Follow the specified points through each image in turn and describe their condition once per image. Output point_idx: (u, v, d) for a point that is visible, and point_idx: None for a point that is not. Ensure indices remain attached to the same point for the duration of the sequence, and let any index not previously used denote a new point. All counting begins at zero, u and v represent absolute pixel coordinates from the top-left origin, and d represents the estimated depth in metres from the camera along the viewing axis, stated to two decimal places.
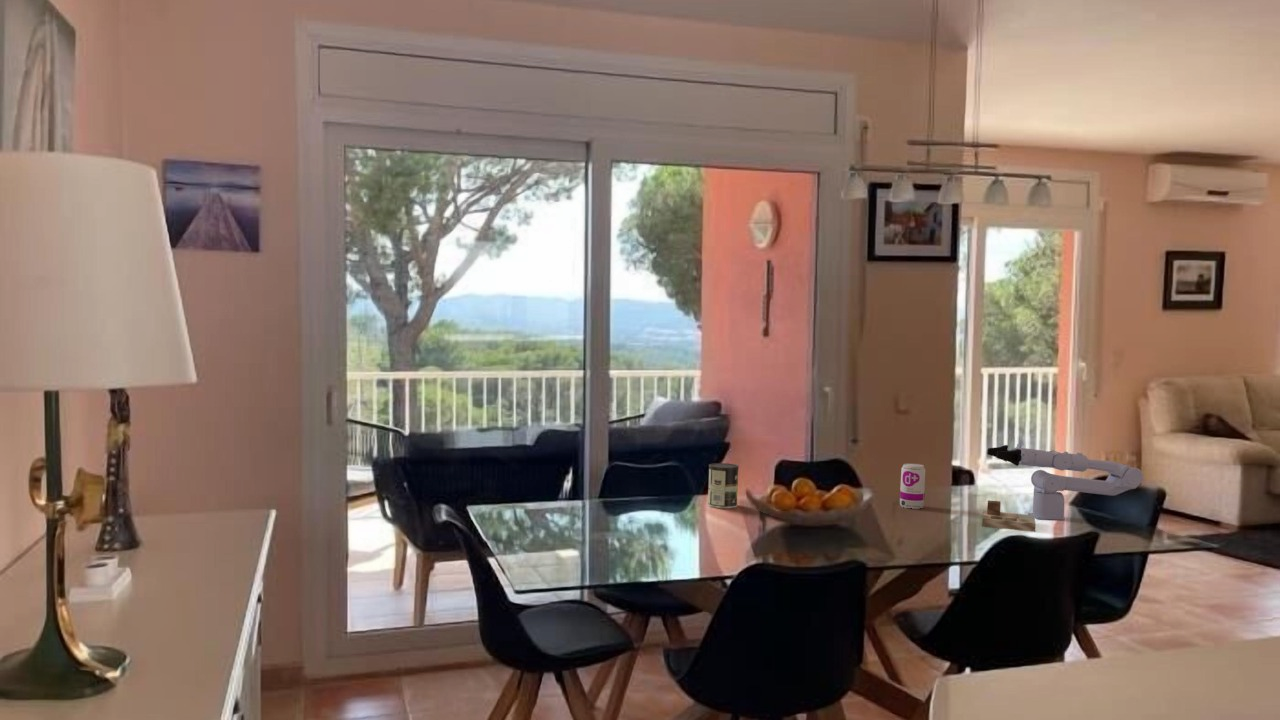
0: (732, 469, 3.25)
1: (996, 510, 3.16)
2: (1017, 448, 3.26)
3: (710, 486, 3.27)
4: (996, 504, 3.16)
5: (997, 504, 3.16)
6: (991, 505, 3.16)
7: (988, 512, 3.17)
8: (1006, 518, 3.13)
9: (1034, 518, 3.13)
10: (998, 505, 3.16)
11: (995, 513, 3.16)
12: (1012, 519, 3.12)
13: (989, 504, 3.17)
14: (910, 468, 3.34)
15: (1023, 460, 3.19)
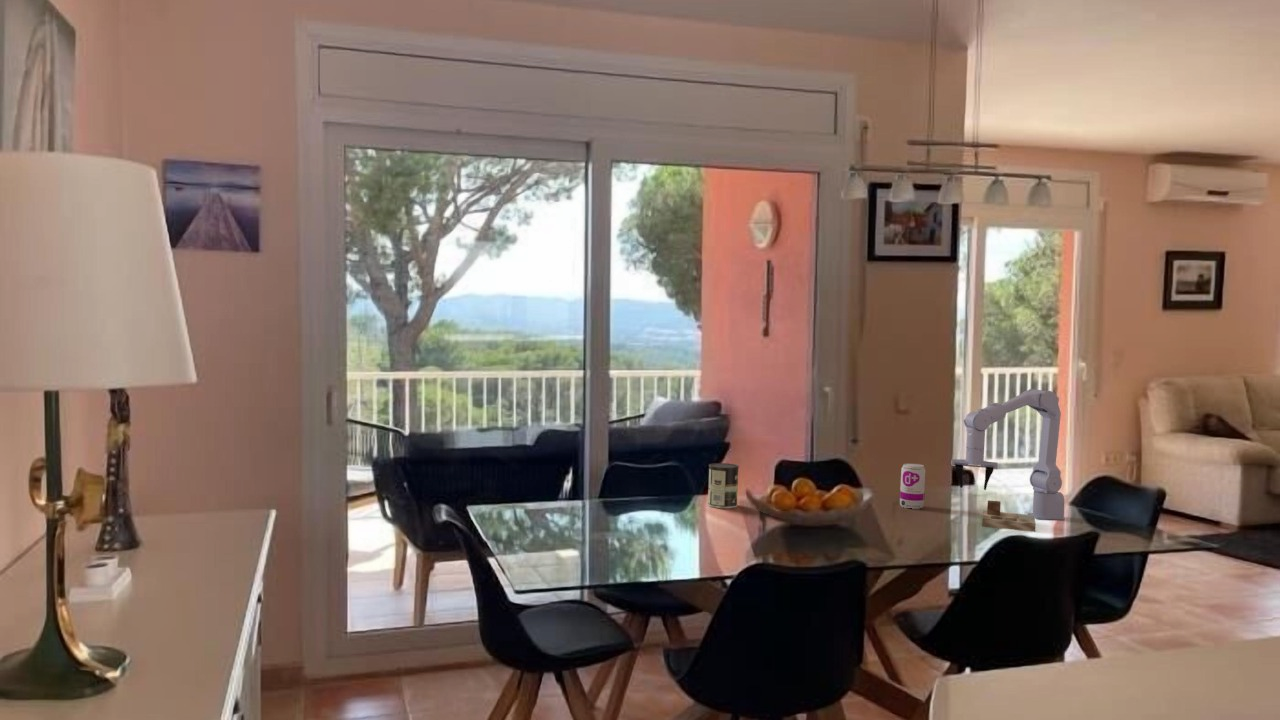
0: (732, 469, 3.25)
1: (996, 510, 3.16)
2: None
3: (710, 486, 3.27)
4: (996, 504, 3.16)
5: (997, 504, 3.16)
6: (991, 505, 3.16)
7: (988, 512, 3.17)
8: (1006, 518, 3.13)
9: (1034, 518, 3.13)
10: (998, 505, 3.16)
11: (995, 513, 3.16)
12: (1012, 519, 3.12)
13: (989, 504, 3.17)
14: (910, 468, 3.34)
15: None
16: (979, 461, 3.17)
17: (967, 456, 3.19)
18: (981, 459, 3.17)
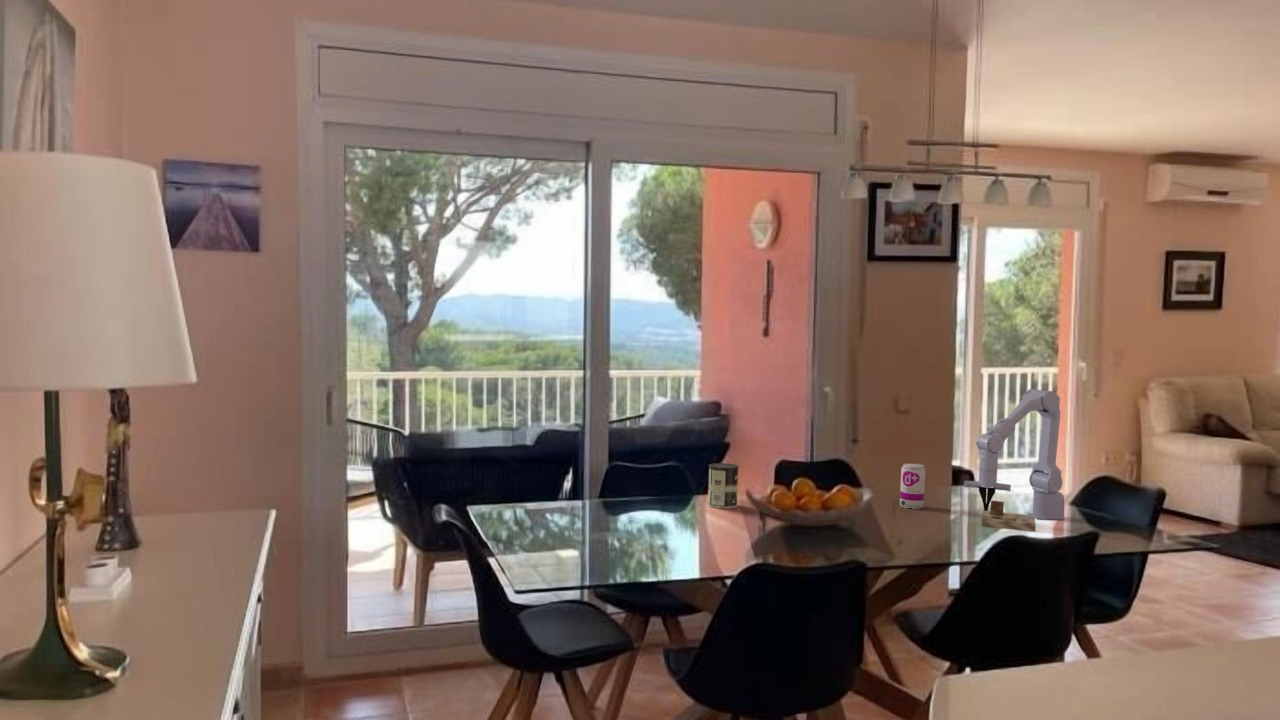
0: (732, 469, 3.25)
1: (999, 510, 3.16)
2: None
3: (710, 486, 3.27)
4: (999, 504, 3.15)
5: (1000, 504, 3.15)
6: (994, 505, 3.16)
7: (991, 512, 3.16)
8: (1006, 518, 3.13)
9: (1034, 518, 3.13)
10: (1001, 505, 3.15)
11: (998, 513, 3.16)
12: (1012, 519, 3.12)
13: (992, 504, 3.16)
14: (910, 468, 3.34)
15: None
16: (992, 483, 3.16)
17: (980, 478, 3.18)
18: (994, 481, 3.16)
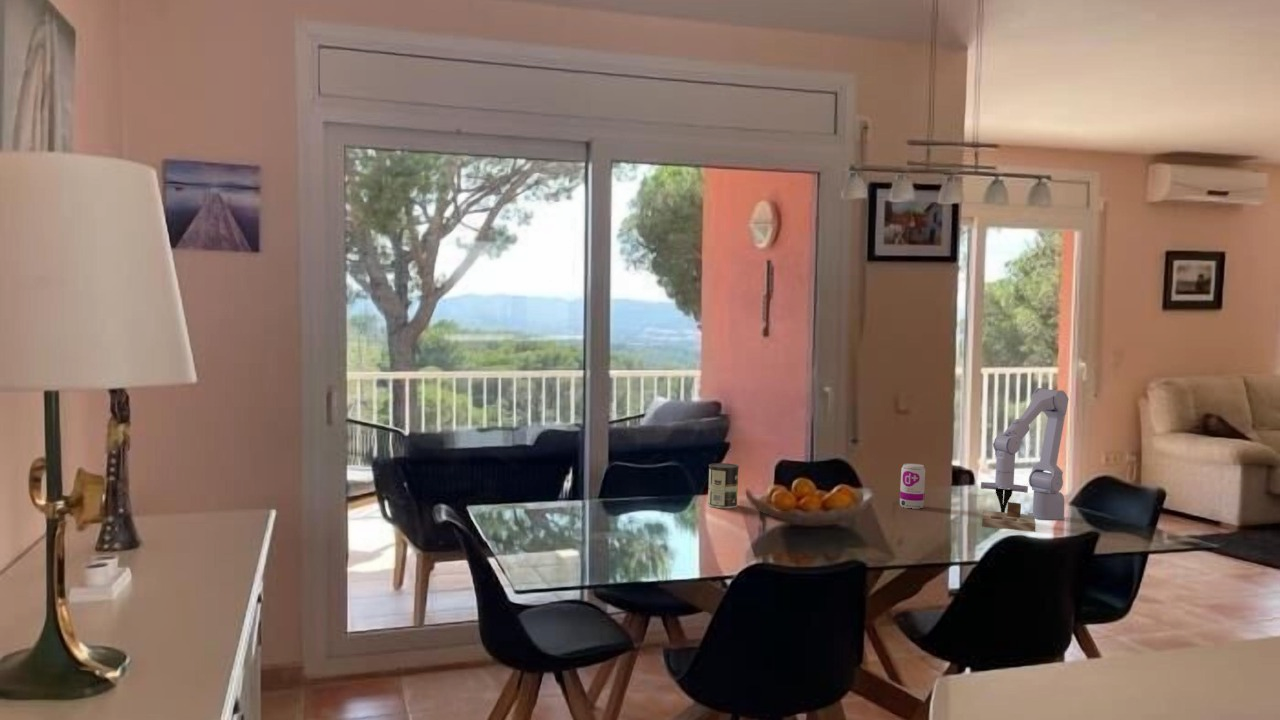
0: (732, 469, 3.25)
1: (1016, 512, 3.14)
2: None
3: (710, 486, 3.27)
4: (1016, 506, 3.14)
5: (1017, 506, 3.13)
6: (1011, 507, 3.14)
7: (1008, 514, 3.15)
8: (1006, 518, 3.13)
9: (1034, 518, 3.13)
10: (1018, 507, 3.13)
11: (1015, 515, 3.14)
12: (1012, 519, 3.12)
13: (1009, 506, 3.14)
14: (910, 468, 3.34)
15: None
16: (1009, 485, 3.14)
17: (997, 479, 3.16)
18: (1011, 483, 3.14)
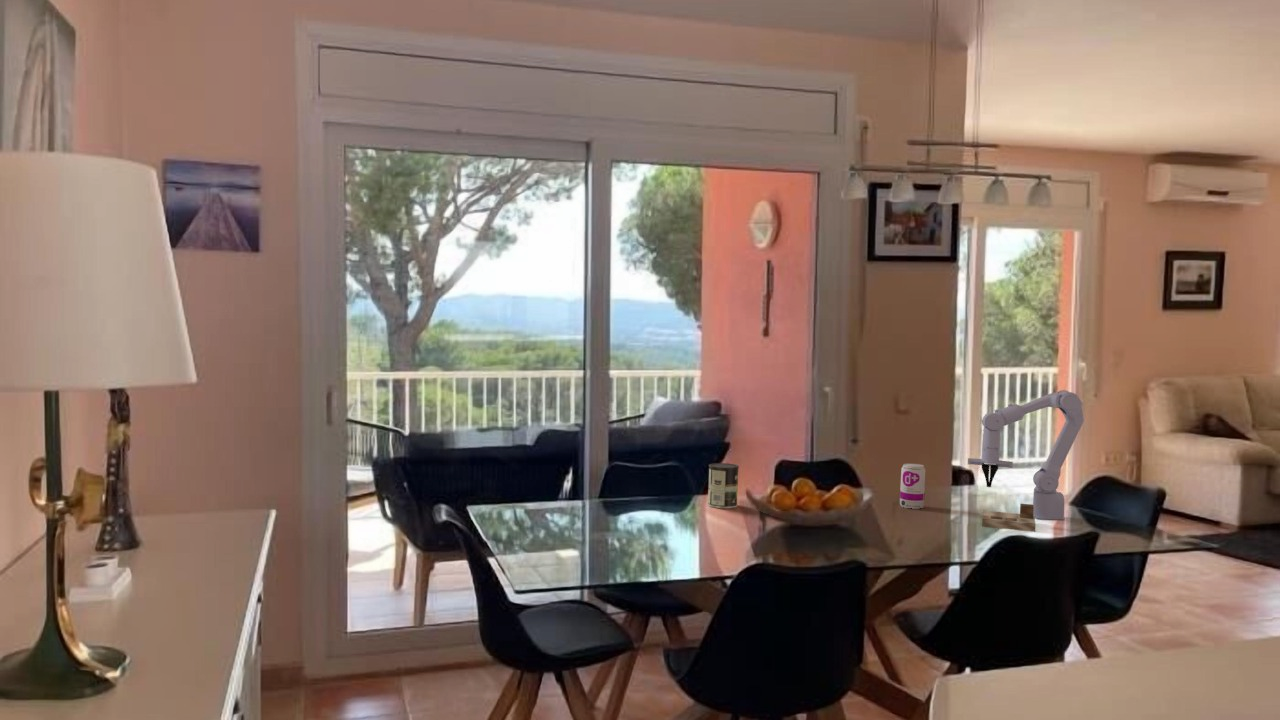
0: (732, 469, 3.25)
1: (1029, 513, 3.12)
2: None
3: (710, 486, 3.27)
4: (1029, 507, 3.12)
5: (1030, 507, 3.12)
6: (1024, 508, 3.13)
7: (1021, 515, 3.13)
8: (1006, 518, 3.13)
9: (1034, 518, 3.13)
10: (1031, 508, 3.12)
11: (1028, 516, 3.12)
12: (1012, 519, 3.12)
13: (1022, 507, 3.13)
14: (910, 468, 3.34)
15: None
16: (995, 460, 3.27)
17: (983, 455, 3.29)
18: (997, 458, 3.27)
